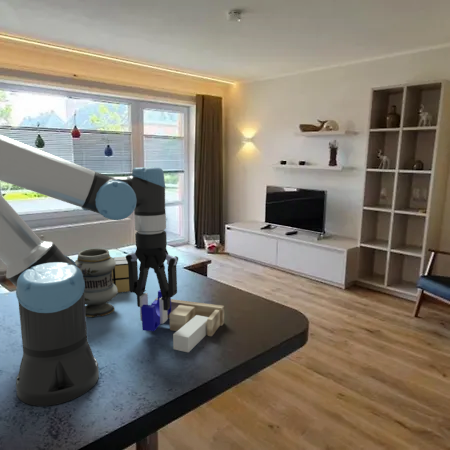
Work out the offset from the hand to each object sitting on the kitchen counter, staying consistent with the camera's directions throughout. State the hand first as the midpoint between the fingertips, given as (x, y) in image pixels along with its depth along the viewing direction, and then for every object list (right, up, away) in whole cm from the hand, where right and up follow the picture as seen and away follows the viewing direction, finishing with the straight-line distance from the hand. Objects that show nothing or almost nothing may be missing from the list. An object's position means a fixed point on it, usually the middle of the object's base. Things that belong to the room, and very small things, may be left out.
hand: (154, 319), depth 96 cm
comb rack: (+7, -3, +6) cm, 10 cm away
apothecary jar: (-20, -1, +15) cm, 25 cm away
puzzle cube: (-20, +2, +34) cm, 39 cm away
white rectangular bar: (+10, -5, -2) cm, 11 cm away
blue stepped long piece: (0, 0, +1) cm, 1 cm away
